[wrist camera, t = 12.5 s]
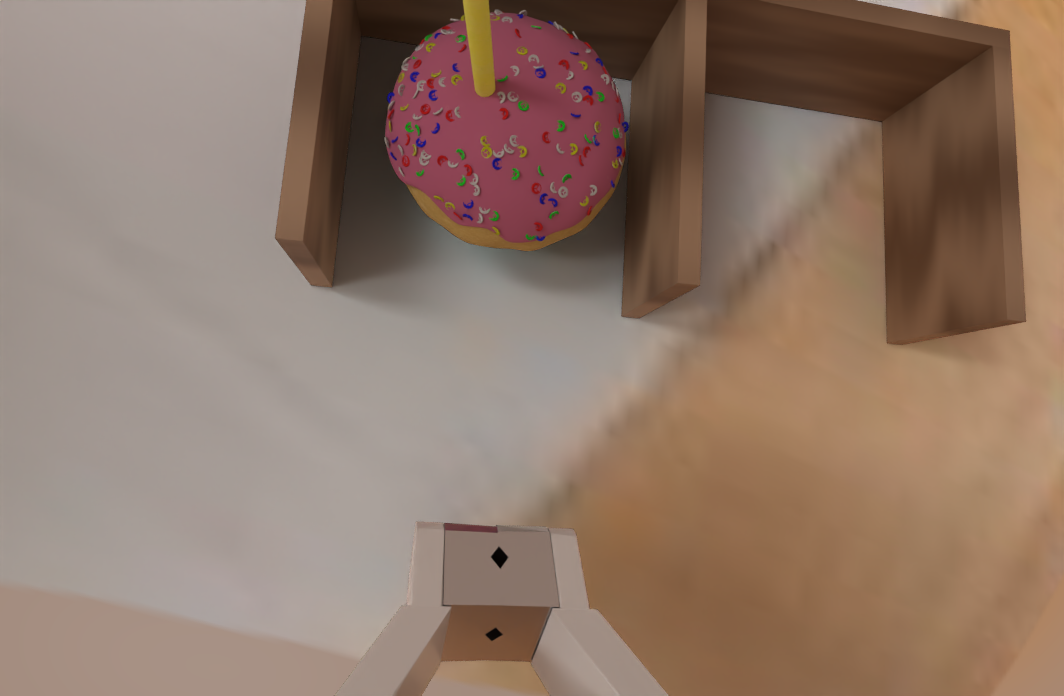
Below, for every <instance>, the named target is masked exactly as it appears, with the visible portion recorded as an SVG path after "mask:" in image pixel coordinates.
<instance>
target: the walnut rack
mask: <svg viewBox="0 0 1064 696" xmlns="http://www.w3.org/2000/svg"><path fill="white" fill-rule="evenodd" d="M496 9H498V10H500V11H502V12H504V13H515V14H519V13H520V12H521V11H522V10H526V11H527V16H528V17H532V18H535V19H538V20H541V21H544V22H547V23H548V21H550V22H552V23H553V22H556V23H557V24H559V25H561V26H562V27H563V28H564V29H565V30H567V32H568V33H569V34H572V35H573V33H572V32H573V31H574V33H575V34H576V36H577V38H578V39H579V40H580V41H582V42H587V43H588V44H589V45H590V46H591V47H592V49H593V50H594V51H595V52H596V53H597V55H598V56H599V58H600V59H601V60H602V62H603V65H604V66H605V68H606V70H607V71H608V73H609V75H610V76H611V77H616V78H622V79H628V80H632V86H631V109H630V132H629V155H628V178H627V200H626V223H625V246H624V269H623V292H622V315H621V316H623V317H633V318H640V317H642V316H644V315H646V314H648V313H650V312H652V311H653V310H655V309H657V308H659V307H661V306H663V305H665V304H666V303H668V302H670V301H672V300H674V299H676V298H678V297H679V296H681V295H683V294H685V293H687V292H689V291H691V290H692V289H694V288H696V287H698V286H700V272H701V231H702V190H703V149H704V108H705V92H707V93H713V94H719V95H725V96H731V97H737V98H743V99H749V100H755V101H761V102H767V103H773V104H779V105H785V106H791V107H797V108H803V109H810V110H816V111H822V112H828V113H834V114H840V115H846V116H852V117H858V118H864V119H870V120H876V121H882V135H883V180H884V225H885V271H886V316H887V343H891V344H901V345H903V344H908V343H914V342H919V341H925V340H930V339H935V338H941V337H946V336H951V335H957V334H962V333H968V332H973V331H978V330H984V329H989V328H994V327H1000V326H1005V325H1010V324H1016V323H1021V322H1026V314H1025V296H1024V278H1023V261H1022V243H1021V225H1020V208H1019V190H1018V172H1017V155H1016V137H1015V119H1014V102H1013V84H1012V66H1011V49H1010V31H1008V30H1003V29H998V28H993V27H988V26H983V25H978V24H973V23H968V22H963V21H958V20H953V19H947V18H942V17H937V16H932V15H927V14H922V13H917V12H912V11H907V10H902V9H897V8H892V7H887V6H882V5H877V4H872V3H867V2H862V1H857V0H489V11H490V13H491V12H495V10H496ZM522 14H524V13H522ZM463 15H465V13H464V6H463V0H306V7H305V15H304V22H303V30H302V37H301V45H300V53H299V60H298V68H297V75H296V83H295V90H294V98H293V106H292V113H291V121H290V128H289V136H288V143H287V151H286V159H285V166H284V174H283V181H282V189H281V196H280V204H279V212H278V219H277V227H276V234H275V239H276V240H277V241H278V243H279V244H280V245H281V247H282V248H283V249H284V250H285V252H286V253H287V254H288V256H289V257H290V258H291V260H292V261H293V262H294V263H295V265H296V266H297V267H298V269H299V270H300V271H301V273H302V274H303V275H304V277H305V278H306V279H307V280H308V282H309V283H310V284H311V285H314V286H324V287H332V283H333V275H334V266H335V257H336V249H337V240H338V232H339V223H340V214H341V206H342V197H343V189H344V180H345V171H346V163H347V154H348V146H349V137H350V128H351V120H352V111H353V103H354V94H355V85H356V77H357V68H358V60H359V51H360V42H361V36H367V37H373V38H379V39H385V40H391V41H397V42H403V43H410V44H416V45H420V43H421V41H422V40H423V39H425V37H426V36H427V35H431V34H433V33H434V32H436V31H437V30H439V29H440V28H442V27H444V26H446V25H448V24H451V23H453V22H454V21H450V19H458V20H461V17H462V16H463ZM464 18H465V17H464ZM464 18H463V19H464ZM559 29H561V28H559ZM573 37H575V36H574V35H573Z"/></svg>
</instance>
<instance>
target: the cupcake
mask: <svg viewBox="0 0 1064 696" xmlns="http://www.w3.org/2000/svg"><path fill="white" fill-rule="evenodd" d="M463 6H464V13H465V15H463V16H462V17H461V20H458V19H450V21H454V22H453V23H451V24H448V25H446V26H444V27H442V28H440V29H439V30H437V31H436V32H434V33H433V34H431V35H427V36H426V37H425V39H423V40H422V41H421V43H420V45H419V46H417V47H416V48H415V51H414V52H413V53H412V55H411V56H410V57H408V58H406V59H405V60H404V61H403V65H402V66H401V68H402V71H401V73H400V74H399V77H398V79H397V81H396V84H395V87H394V90H393V92H390V93H389V94H388V96H387V101H388V103H389V105H388V113H387V120H386V130H385V138H384V140H385V143H386V148H387V152H388V155H389V159H390V161H391V164H392V167H393V169H394V171H395V173H396V174H397V176H398V177H399V179H400V180H401V181H402V182H404V183H405V184H406V185H407V187H408V189H409V191H410V192H411V194H412V196H413V197H414V199H415V200H416V202H417V203H418V205H419V206H420V208H421V209H422V210H423V212H424V213H425V214H426V215H427V216H428V217H430V218H431V219H432V220H434V221H435V222H437V223H438V224H440V225H441V226H443V227H444V228H445V229H446V230H448V231H449V232H450V233H452V234H453V235H454V236H456V237H457V238H459V239H461V240H463V241H465V242H467V243H470V244H474V245H479V246H485V247H492V248H508V249H517V250H523V251H533V250H538V249H541V248H543V247H545V246H548V245H550V244H553V243H555V242H557V241H559V240H562V239H564V238H566V237H569V236H571V235H574V234H576V233H578V232H580V231H581V230H583V229H584V228H585V227H587V226H588V225H589V224H590V223H591V221H592V220H593V219H594V218H595V217H596V215H597V214H598V213H599V211H600V210H601V209H602V208H603V207H604V205H605V204H606V203H607V202H608V200H609V199H610V197H611V196H612V194H613V193H614V191H615V189H616V186H617V184H618V181H619V178H620V175H621V171H622V168H623V164H624V159H625V153H626V131H627V130H628V128H629V125H628V123H627V122H624V112H623V106H622V102H621V99H620V96H619V93H618V89H617V87H616V86H615V84H614V82H613V80H612V78H611V76H610V75H609V73H608V71H607V70H606V68H605V66H604V65H603V62H602V60H601V59H600V58H599V56H598V55H597V53H596V52H595V51H594V50H593V49H592V47H591V46H590V45H589V44H588V43H587V42H582V41H580V40H579V39H578V38H577V36H576V34H575V33H574V31H573V32H572V33H573V35H574V36H575V37H573V35H572V34H569V33H568V32H567V30H565V29H564V28H563V27H562V26H561V25H559V24H557V23H556V22H553V23H552V22H550V21H548V23H547V22H544V21H541V20H538V19H535V18H532V17H528V16H527V11H526V10H522V11H521V12H520V13H519V14H515V13H504V12H502V11H500V10H498V9H496V10H495V12H491V13H490V11H489V0H463ZM522 13H524V14H522ZM464 17H465V18H464ZM463 18H464V19H463ZM559 28H561V29H559ZM391 95H392V96H391ZM390 96H391V99H389V97H390ZM625 125H626V127H625Z"/></svg>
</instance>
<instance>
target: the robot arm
mask: <svg viewBox="0 0 1064 696" xmlns="http://www.w3.org/2000/svg"><path fill="white" fill-rule="evenodd" d="M476 660H493V661H526V662H532V663H531V665H532V667H533V668H534V670H535V672H536V673H537V675H538V677H539V678H540V680H541V682H542V683H543V685H544V687H545V688H546V690H547V691H548V693H549V695H550V696H669V695H668V694H667V693H666V692H665V690H664V689H663V688H662V687H661V686H660V684H659V683H658V682H657V681H656V679H655V678H654V677H653V676H652V675H651V673H650V672H649V671H648V670H647V669H646V667H645V666H644V665H643V664H642V663H641V661H640V660H639V659H638V658H637V656H636V655H635V654H634V653H633V652H632V650H631V649H630V648H629V647H628V646H627V644H626V643H625V642H624V641H623V640H622V638H621V637H620V636H619V635H618V633H617V632H616V631H615V630H614V629H613V627H612V626H611V625H610V624H609V623H608V621H607V620H606V619H605V618H604V617H603V615H602V614H601V613H600V612H599V610H598V609H590V607H589V601H588V596H587V590H586V585H585V579H584V574H583V568H582V562H581V557H580V551H579V546H578V540H577V535H576V533H575V531H574V529H572V528H546V527H536V526H501V525H496V526H483V525H468V524H452V523H444V524H443V523H438V522H416V525H415V532H414V540H413V547H412V554H411V563H410V572H409V580H408V592H407V605H402V606H401V607H400V608H399V610H398V611H397V612H396V614H395V615H394V616H393V618H392V619H391V620H390V622H389V623H388V624H387V626H386V627H385V628H384V630H383V631H382V632H381V634H380V635H379V636H378V638H377V639H376V640H375V642H374V643H373V644H372V646H371V647H370V649H369V650H368V651H367V653H366V654H365V655H364V657H363V658H362V659H361V661H360V662H359V663H358V665H357V666H356V667H355V669H354V670H353V671H352V673H351V674H350V675H349V677H348V678H347V679H346V681H345V682H344V683H343V685H342V686H341V687H340V689H339V690H338V691H337V693H336V694H335V695H334V696H422V694H423V693H424V691H425V689H426V687H427V686H428V684H429V682H430V681H431V679H432V677H433V675H434V674H435V672H436V670H437V669H438V667H439V665H440V661H476Z"/></svg>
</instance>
